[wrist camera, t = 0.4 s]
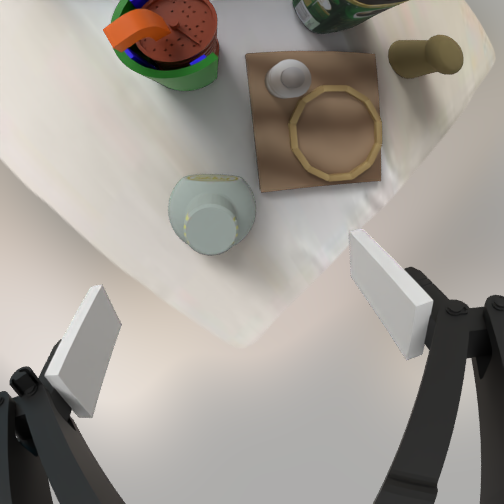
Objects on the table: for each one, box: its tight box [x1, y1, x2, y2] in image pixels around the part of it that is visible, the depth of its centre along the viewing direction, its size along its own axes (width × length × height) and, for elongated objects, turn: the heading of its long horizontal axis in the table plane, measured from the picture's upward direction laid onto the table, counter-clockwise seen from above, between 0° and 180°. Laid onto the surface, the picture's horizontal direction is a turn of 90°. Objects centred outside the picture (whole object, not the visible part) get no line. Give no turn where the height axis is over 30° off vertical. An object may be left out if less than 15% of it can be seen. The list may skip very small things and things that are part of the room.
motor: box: [103, 0, 219, 91], centre depth 24 cm, size 10×9×20 cm
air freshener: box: [168, 174, 256, 255], centre depth 37 cm, size 11×8×10 cm
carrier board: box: [245, 51, 382, 193], centre depth 35 cm, size 18×17×8 cm
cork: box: [388, 35, 463, 79], centre depth 30 cm, size 6×6×11 cm
